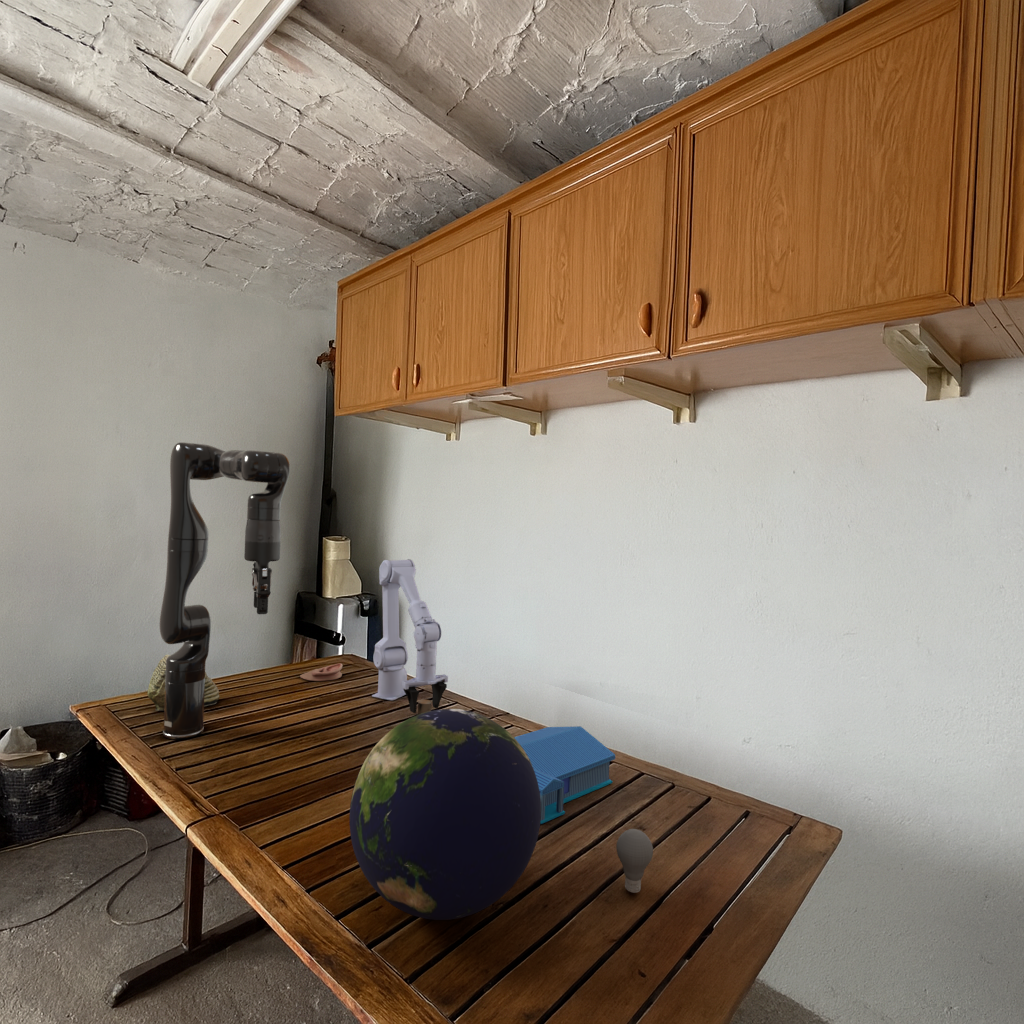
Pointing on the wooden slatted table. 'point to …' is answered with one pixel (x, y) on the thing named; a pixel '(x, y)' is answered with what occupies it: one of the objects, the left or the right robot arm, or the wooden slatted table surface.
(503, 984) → the wooden slatted table surface
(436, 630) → the right robot arm
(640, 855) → the light bulb
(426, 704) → the can
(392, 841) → the globe
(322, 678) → the anatomical model
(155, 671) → the fossil
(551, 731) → the model building
